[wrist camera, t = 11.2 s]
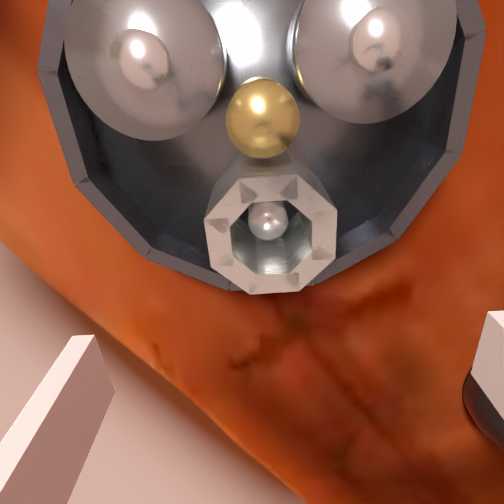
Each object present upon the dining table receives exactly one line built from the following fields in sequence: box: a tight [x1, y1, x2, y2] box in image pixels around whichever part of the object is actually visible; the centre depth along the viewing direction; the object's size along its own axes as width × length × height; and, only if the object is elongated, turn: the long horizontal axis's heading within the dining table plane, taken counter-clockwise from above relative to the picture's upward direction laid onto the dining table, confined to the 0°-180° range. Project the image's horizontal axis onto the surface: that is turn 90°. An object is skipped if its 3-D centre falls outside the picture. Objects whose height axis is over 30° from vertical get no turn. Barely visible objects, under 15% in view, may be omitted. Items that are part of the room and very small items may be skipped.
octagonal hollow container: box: [204, 149, 337, 294], centre depth 22 cm, size 7×7×6 cm
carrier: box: [37, 0, 487, 291], centre depth 20 cm, size 24×24×8 cm
